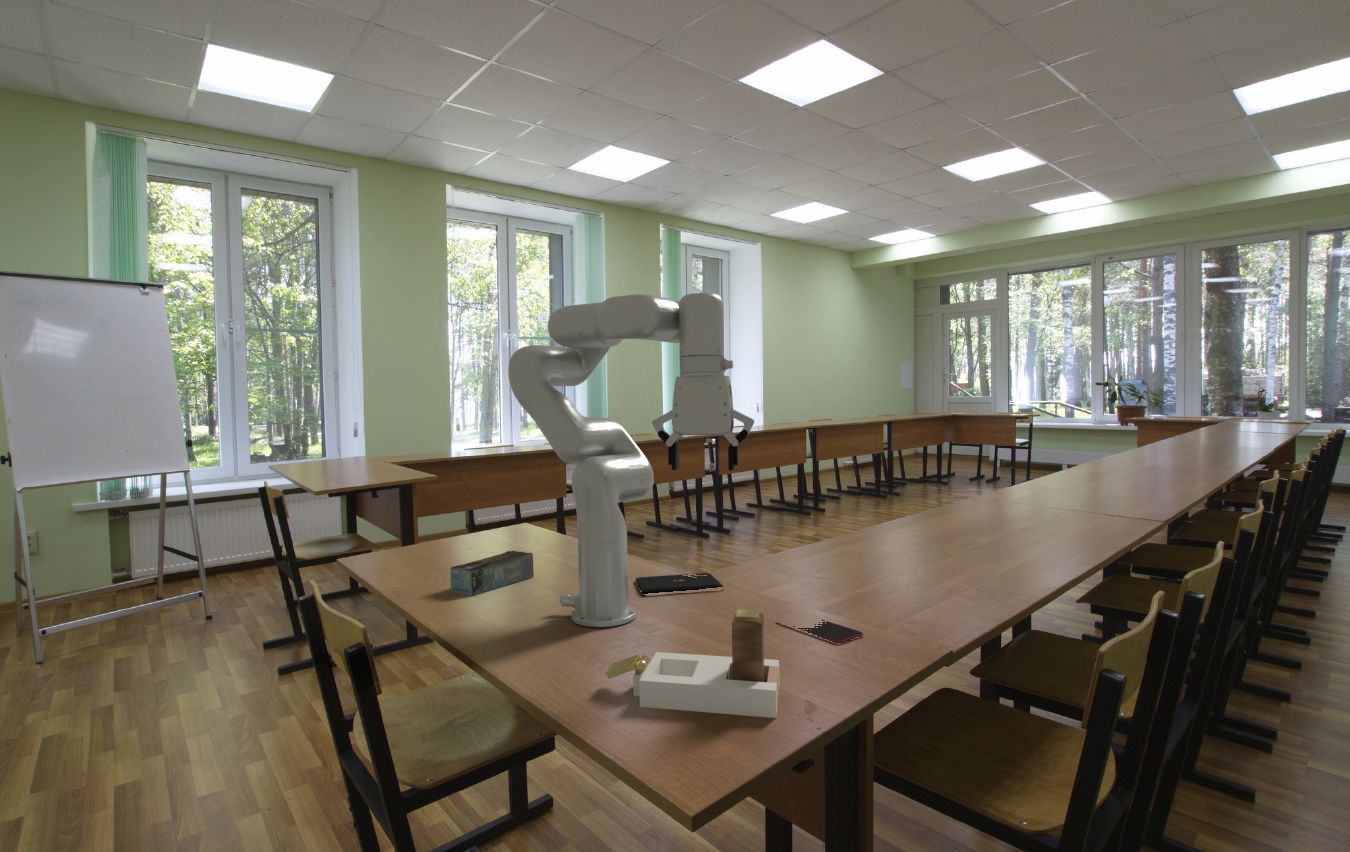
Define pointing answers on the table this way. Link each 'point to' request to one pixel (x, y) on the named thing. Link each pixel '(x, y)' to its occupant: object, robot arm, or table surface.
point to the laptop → (676, 583)
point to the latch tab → (628, 666)
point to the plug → (748, 646)
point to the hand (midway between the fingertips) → (703, 469)
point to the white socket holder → (705, 686)
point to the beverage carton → (491, 573)
